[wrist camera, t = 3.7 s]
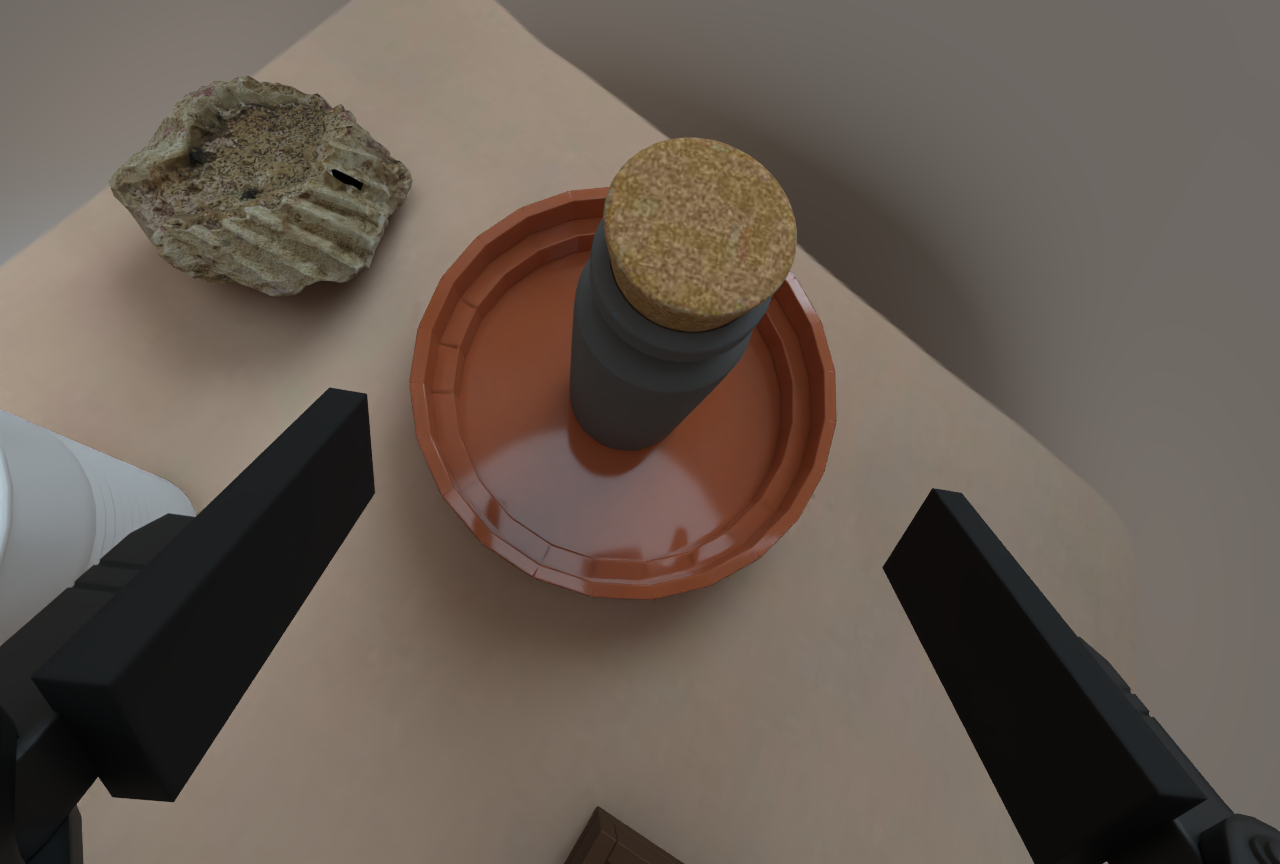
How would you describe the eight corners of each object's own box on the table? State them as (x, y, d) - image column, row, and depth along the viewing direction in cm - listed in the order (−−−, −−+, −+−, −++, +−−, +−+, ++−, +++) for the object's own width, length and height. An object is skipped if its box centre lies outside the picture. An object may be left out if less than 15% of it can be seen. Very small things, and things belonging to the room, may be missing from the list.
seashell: (443, 252, 31) (332, 68, 27) (462, 221, 24) (321, -20, 21) (245, 349, 27) (89, 150, 24) (208, 343, 21) (-10, 72, 18)
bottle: (609, 319, 28) (661, 72, 13) (704, 380, 28) (859, 201, 13) (545, 410, 26) (526, 245, 12) (646, 474, 26) (749, 388, 12)
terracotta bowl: (863, 358, 30) (901, 334, 27) (683, 672, 25) (702, 692, 22) (578, 165, 30) (580, 116, 26) (344, 443, 25) (310, 427, 22)
